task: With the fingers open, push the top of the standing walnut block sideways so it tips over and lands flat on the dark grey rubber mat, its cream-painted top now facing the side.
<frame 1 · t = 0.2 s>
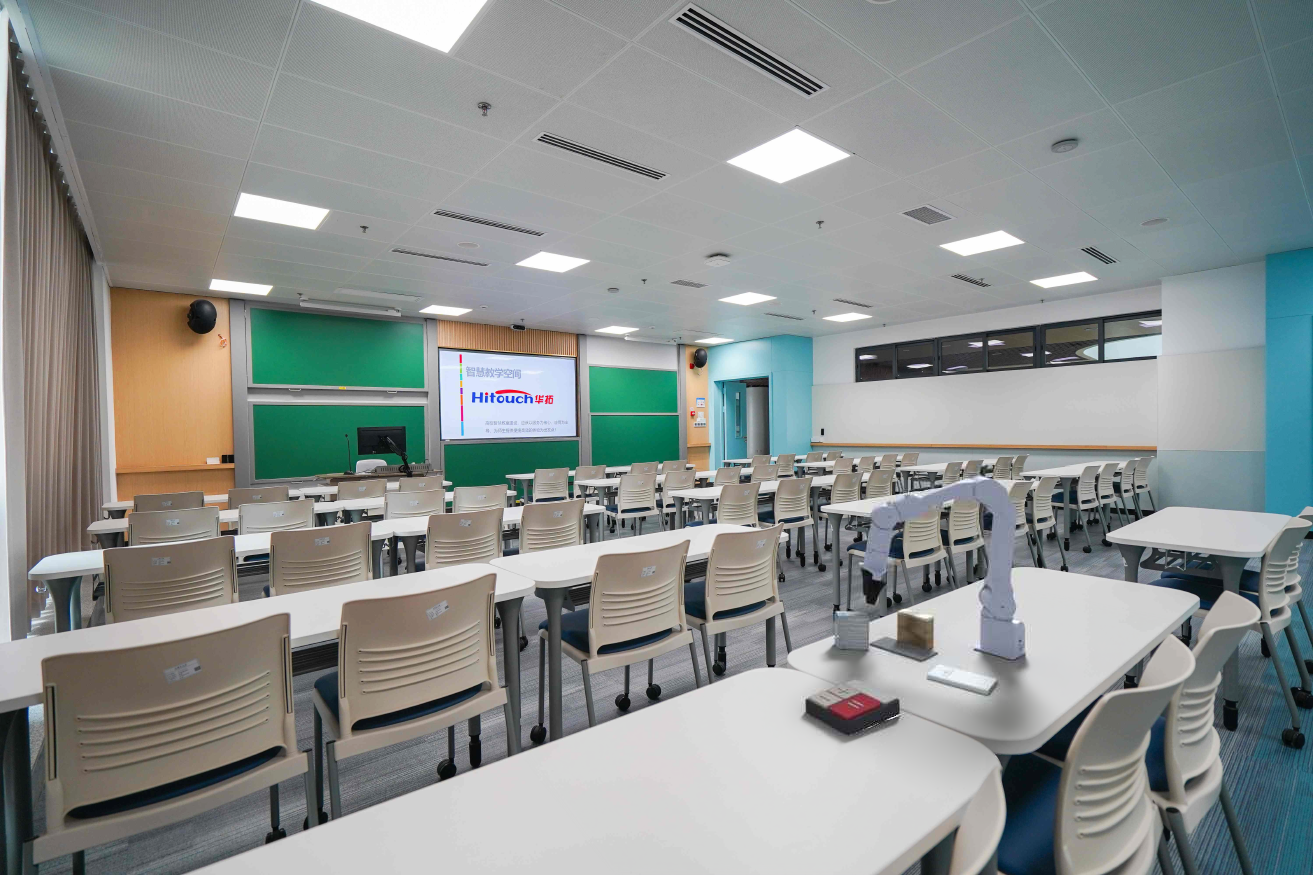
hand: (868, 599, 159), 11 cm above the table, tool pointing down, fingers open, 7 cm apart
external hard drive: (961, 683, 134), on the table
mat: (902, 649, 152), on the table
block: (915, 644, 156), on the table
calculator: (852, 716, 118), on the table
medicine box: (851, 647, 154), on the table
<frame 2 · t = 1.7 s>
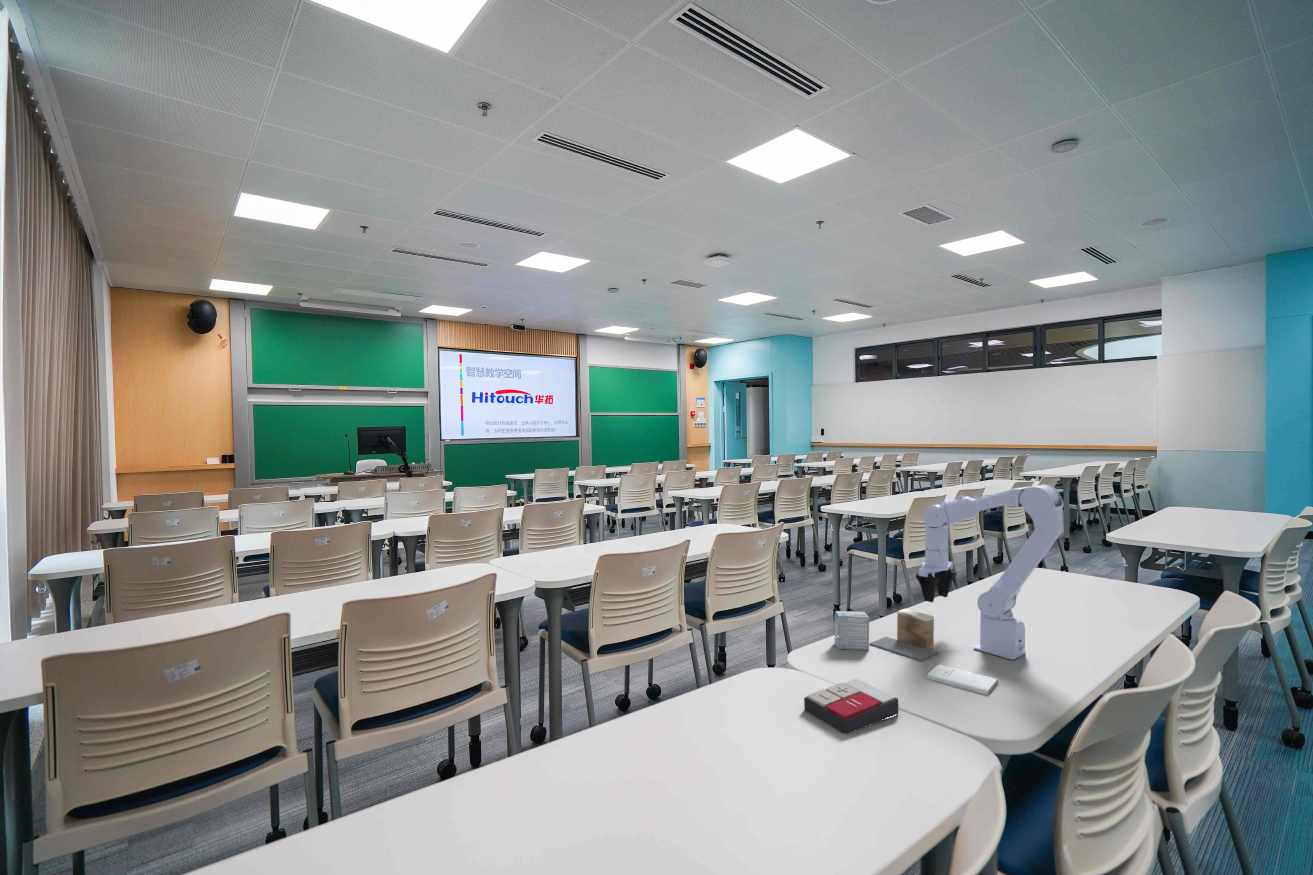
hand: (935, 598, 162), 10 cm above the table, tool pointing down, fingers open, 7 cm apart
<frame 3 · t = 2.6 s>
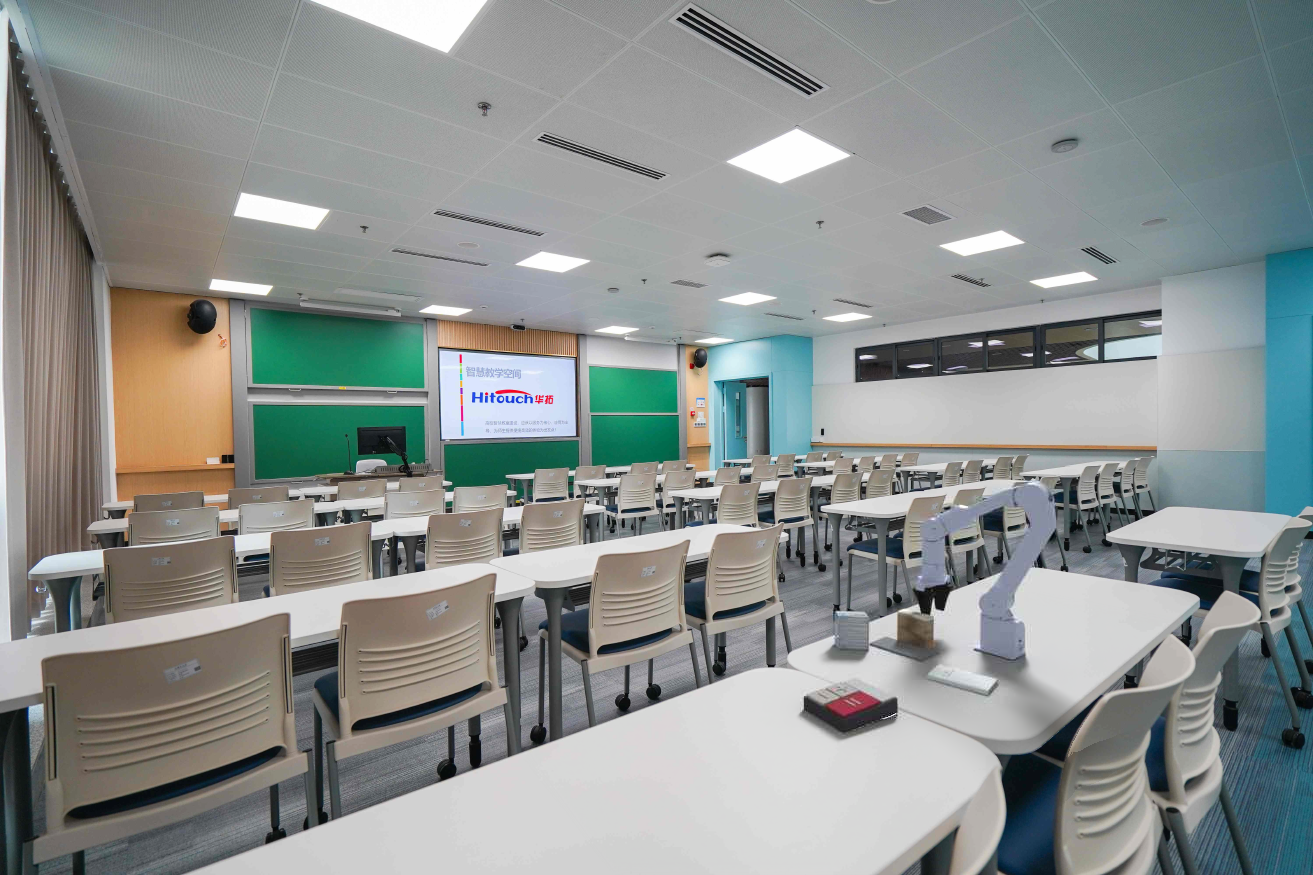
hand: (932, 612, 161), 6 cm above the table, tool pointing down, fingers open, 7 cm apart
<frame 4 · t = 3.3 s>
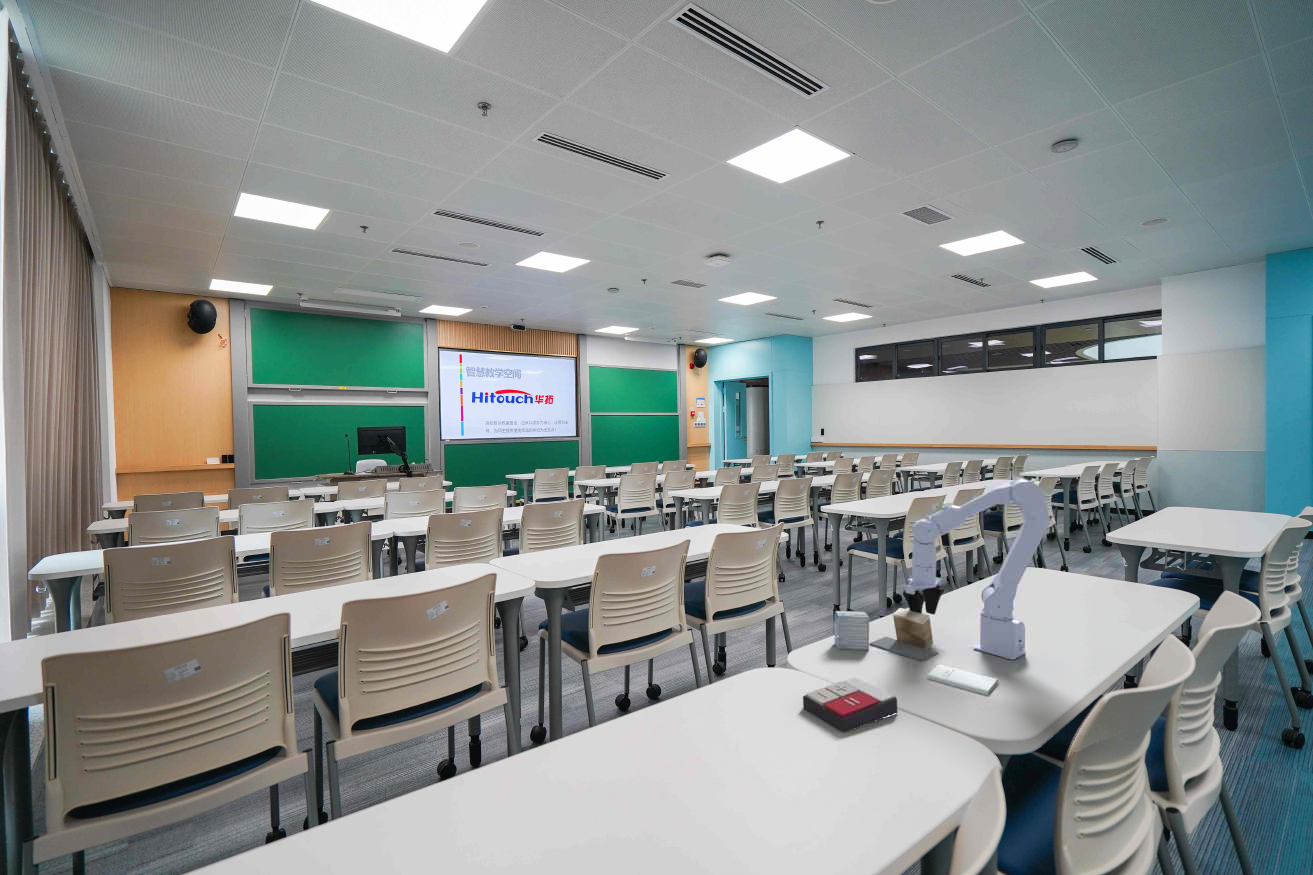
hand: (923, 616, 158), 6 cm above the table, tool pointing down, fingers open, 7 cm apart
block: (915, 642, 156), on the table, tilted 16°, touching gripper
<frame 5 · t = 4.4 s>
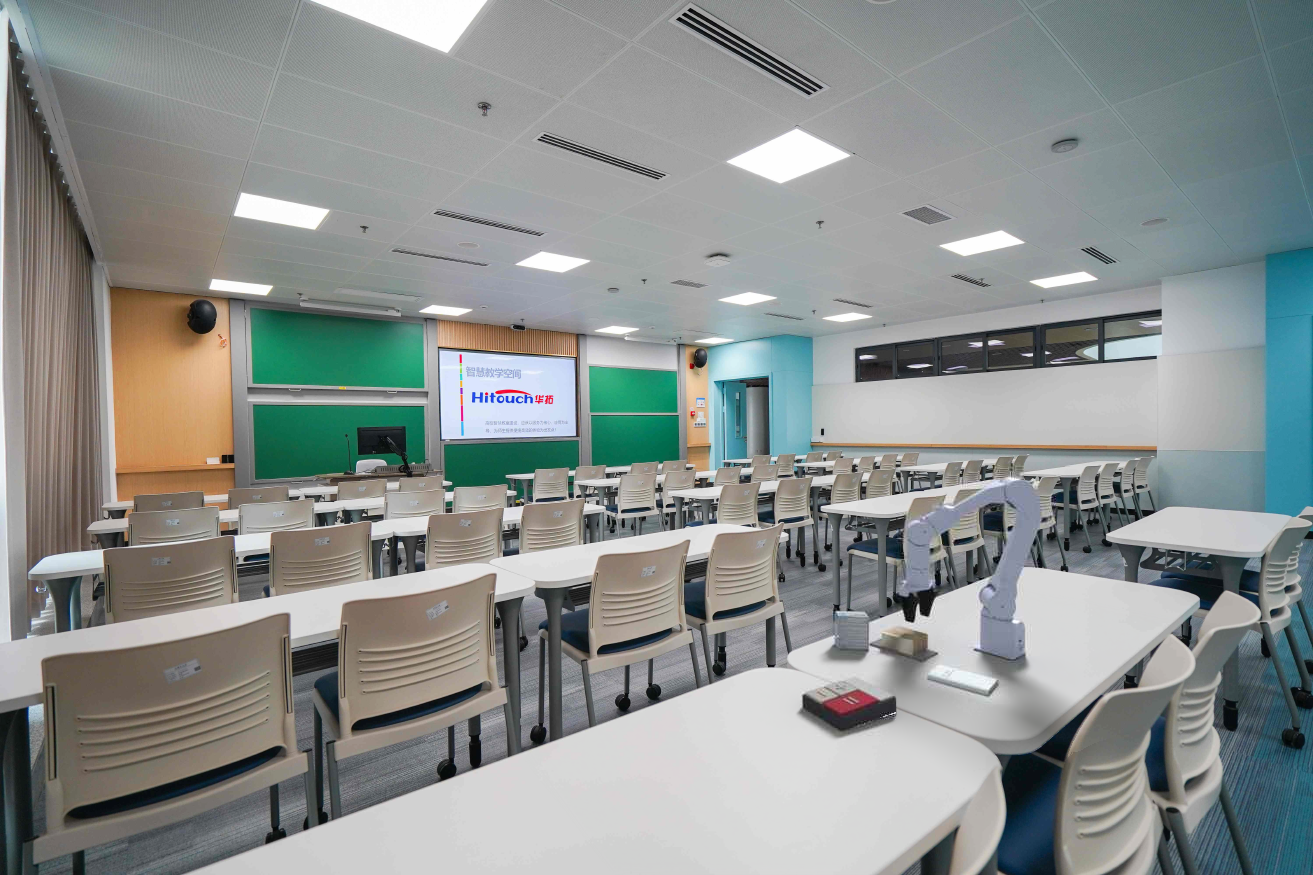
hand: (917, 618, 156), 6 cm above the table, tool pointing down, fingers open, 7 cm apart
block: (912, 636, 155), point 2 cm above the table, tilted 90°, touching mat
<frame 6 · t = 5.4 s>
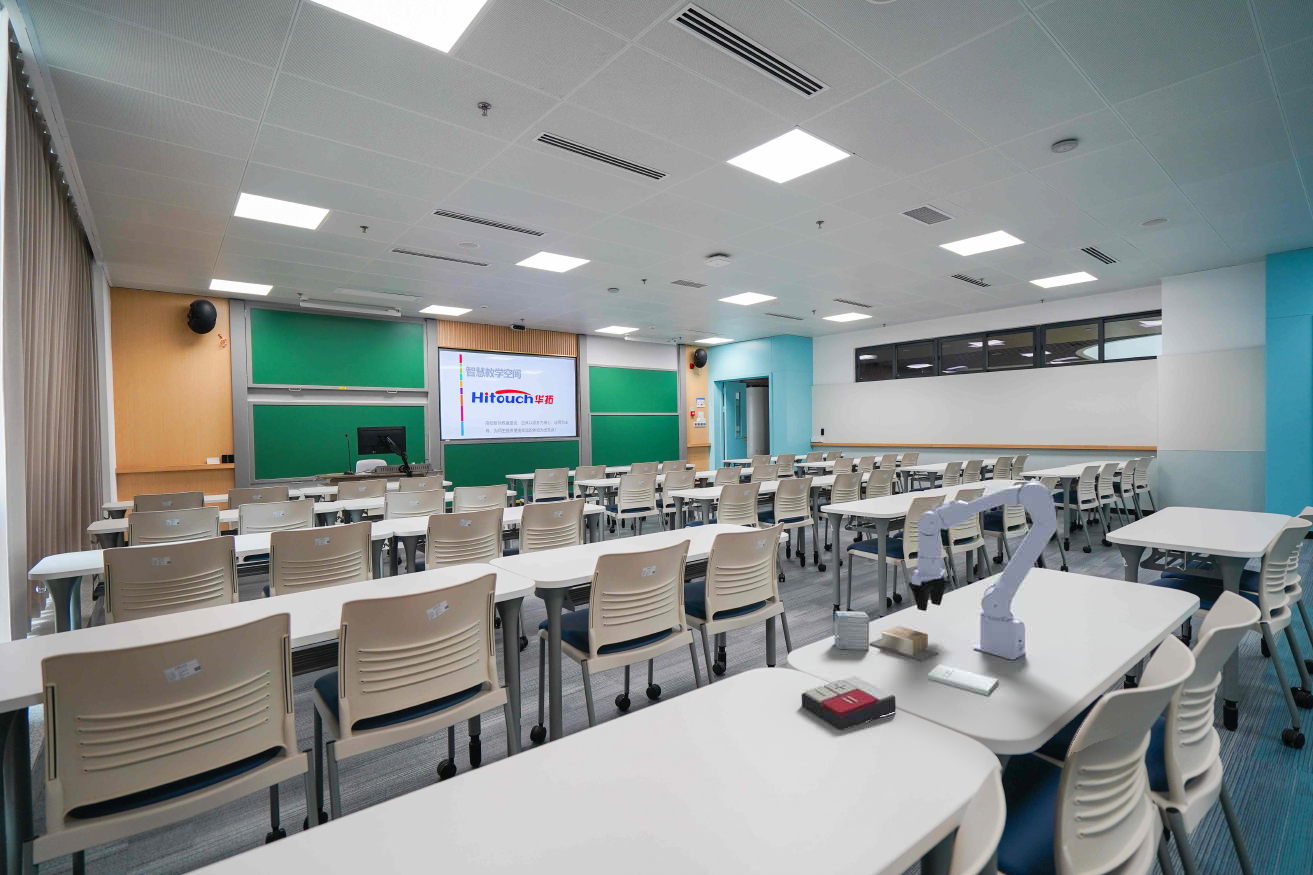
hand: (929, 607, 160), 8 cm above the table, tool pointing down, fingers open, 7 cm apart
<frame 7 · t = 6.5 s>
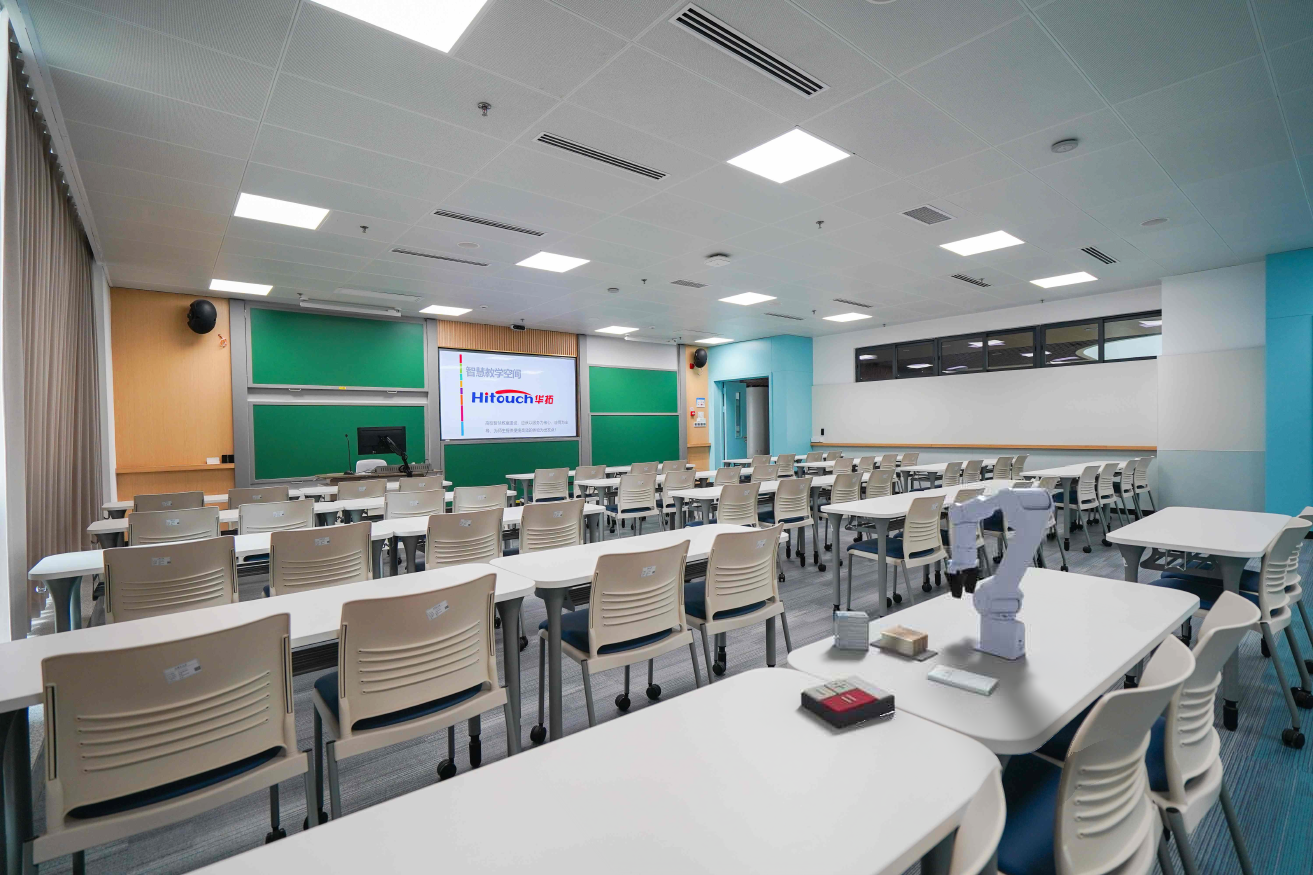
hand: (963, 595, 165), 10 cm above the table, tool pointing down, fingers open, 7 cm apart
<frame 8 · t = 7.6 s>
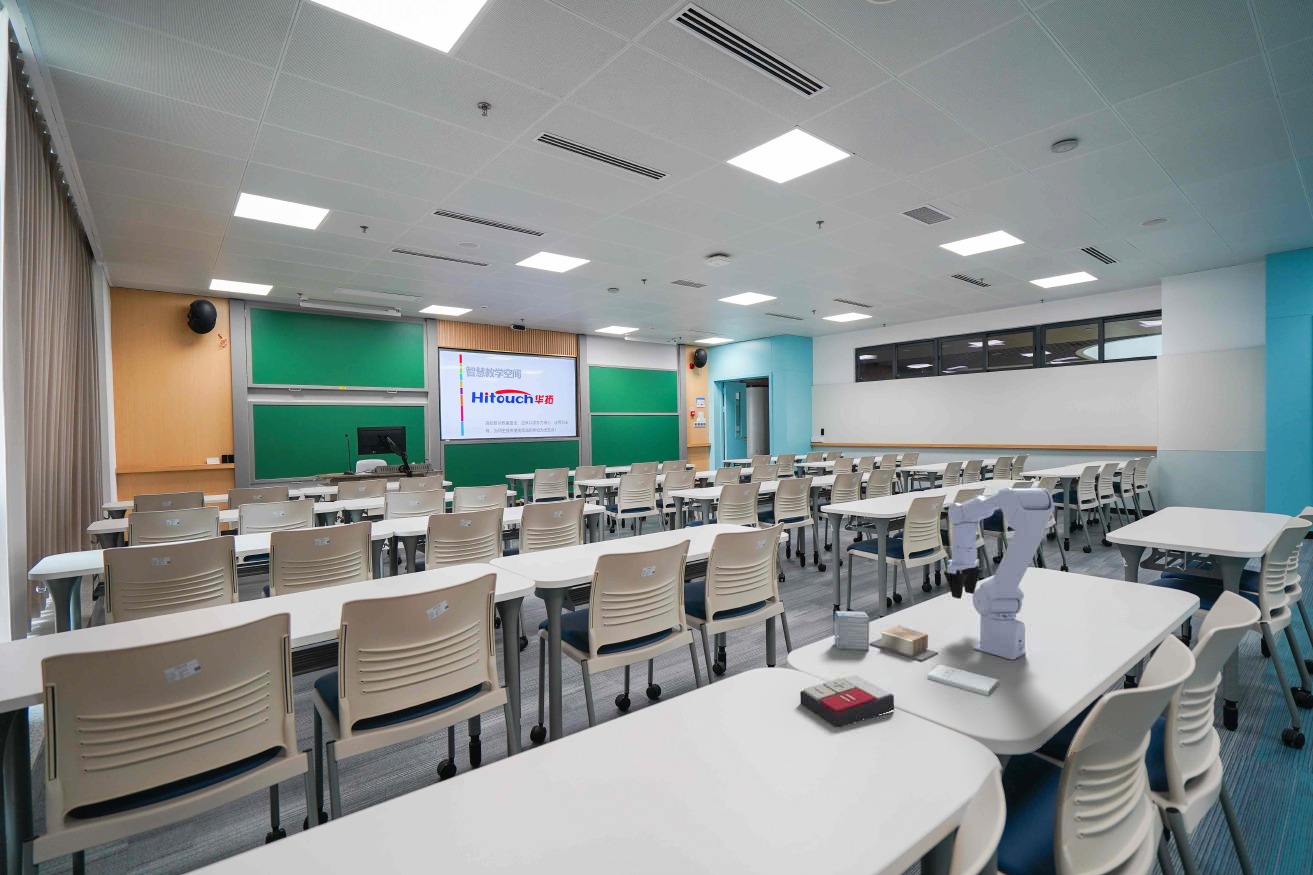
hand: (963, 595, 165), 10 cm above the table, tool pointing down, fingers open, 7 cm apart
at the end: block tilted 90°; block inside the target area (4.1 cm from its centre), point 2.1 cm above the table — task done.
